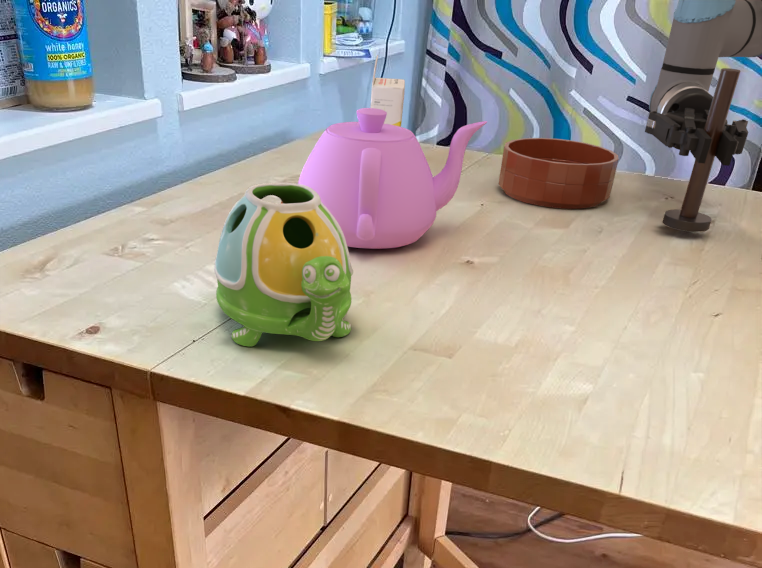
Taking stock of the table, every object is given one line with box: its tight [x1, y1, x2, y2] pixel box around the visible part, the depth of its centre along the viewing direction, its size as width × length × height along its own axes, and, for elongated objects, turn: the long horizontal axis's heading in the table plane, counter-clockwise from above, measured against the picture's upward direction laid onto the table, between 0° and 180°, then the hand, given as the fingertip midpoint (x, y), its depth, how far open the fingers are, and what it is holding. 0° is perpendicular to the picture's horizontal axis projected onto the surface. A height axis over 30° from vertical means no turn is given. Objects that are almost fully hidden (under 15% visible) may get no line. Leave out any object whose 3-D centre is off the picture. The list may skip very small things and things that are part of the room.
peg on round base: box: [661, 67, 741, 233], centre depth 101 cm, size 6×6×18 cm
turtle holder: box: [213, 182, 354, 348], centre depth 71 cm, size 12×18×12 cm
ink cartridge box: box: [369, 54, 406, 127], centre depth 123 cm, size 9×5×15 cm, turn 178°
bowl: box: [498, 137, 620, 210], centre depth 118 cm, size 16×16×6 cm
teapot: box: [297, 107, 488, 250], centre depth 95 cm, size 22×22×14 cm
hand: (717, 152), depth 96 cm, fingers closed on peg on round base, 2 cm apart
